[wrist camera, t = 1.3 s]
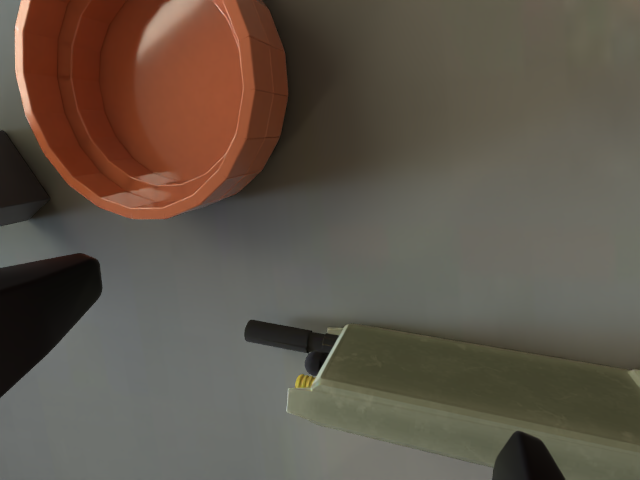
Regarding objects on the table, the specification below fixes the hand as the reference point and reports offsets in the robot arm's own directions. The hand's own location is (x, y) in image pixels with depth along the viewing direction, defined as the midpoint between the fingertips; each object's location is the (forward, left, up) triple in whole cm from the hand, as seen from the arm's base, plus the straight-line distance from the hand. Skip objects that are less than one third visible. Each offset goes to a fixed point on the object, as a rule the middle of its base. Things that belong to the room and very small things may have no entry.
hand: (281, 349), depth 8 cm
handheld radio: (-4, -8, -15) cm, 17 cm away
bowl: (-1, +13, -14) cm, 20 cm away
